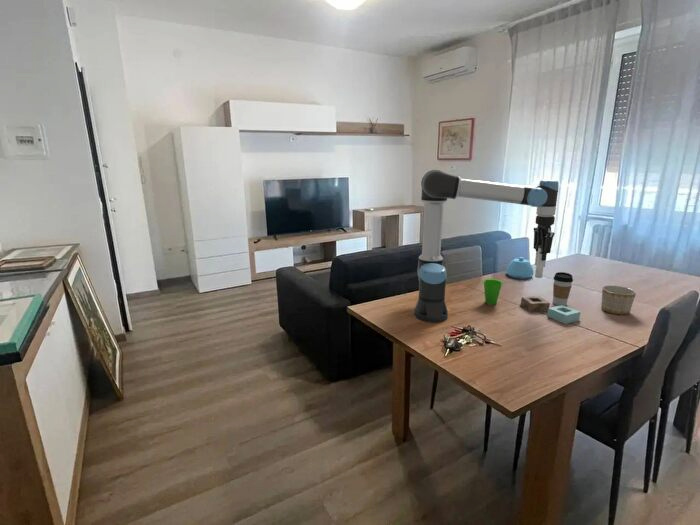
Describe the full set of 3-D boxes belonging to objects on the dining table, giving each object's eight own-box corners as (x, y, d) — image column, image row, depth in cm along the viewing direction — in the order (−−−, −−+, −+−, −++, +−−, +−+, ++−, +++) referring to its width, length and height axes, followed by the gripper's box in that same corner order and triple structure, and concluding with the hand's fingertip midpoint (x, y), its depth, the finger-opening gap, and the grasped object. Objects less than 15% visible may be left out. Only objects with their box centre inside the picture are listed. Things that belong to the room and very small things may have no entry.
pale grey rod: (537, 278, 173) (540, 246, 169) (533, 276, 175) (537, 245, 171) (543, 277, 173) (547, 246, 169) (539, 275, 176) (543, 244, 172)
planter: (602, 303, 183) (606, 283, 180) (634, 310, 174) (638, 289, 172) (595, 311, 175) (599, 290, 172) (628, 318, 166) (633, 296, 163)
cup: (502, 306, 181) (504, 285, 178) (482, 305, 183) (484, 284, 180) (498, 300, 189) (500, 279, 187) (480, 298, 191) (482, 278, 188)
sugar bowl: (537, 279, 221) (539, 260, 218) (512, 279, 221) (514, 260, 218) (526, 272, 236) (528, 254, 233) (502, 272, 236) (504, 254, 233)
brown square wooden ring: (530, 311, 175) (531, 303, 174) (520, 304, 183) (521, 296, 182) (548, 310, 175) (550, 302, 174) (538, 303, 184) (539, 296, 183)
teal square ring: (565, 323, 161) (566, 315, 160) (547, 316, 169) (548, 308, 168) (579, 320, 165) (580, 311, 164) (561, 312, 173) (562, 304, 172)
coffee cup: (568, 301, 186) (572, 273, 182) (570, 307, 179) (574, 277, 175) (549, 299, 189) (553, 271, 185) (550, 305, 182) (554, 275, 178)
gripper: (564, 217, 159) (557, 270, 165) (544, 212, 174) (538, 261, 180) (546, 218, 159) (540, 271, 165) (528, 213, 174) (523, 261, 180)
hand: (539, 265), depth 173 cm, fingers closed on pale grey rod, 2 cm apart
